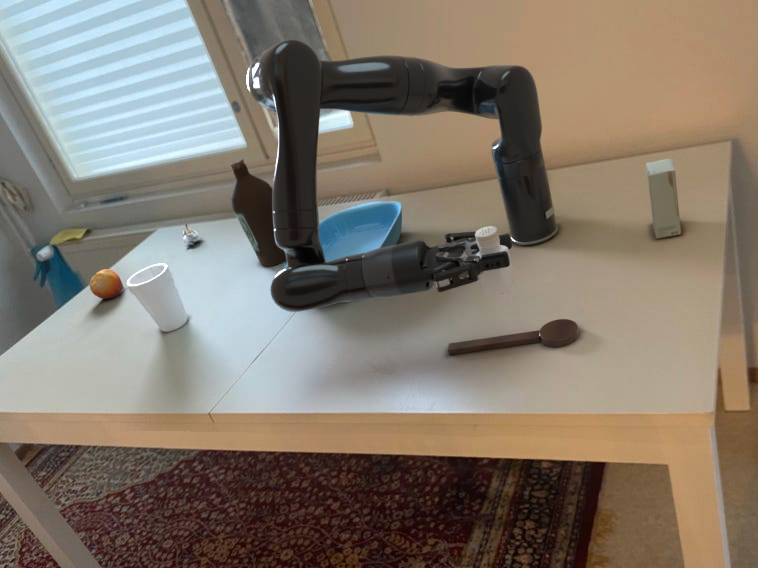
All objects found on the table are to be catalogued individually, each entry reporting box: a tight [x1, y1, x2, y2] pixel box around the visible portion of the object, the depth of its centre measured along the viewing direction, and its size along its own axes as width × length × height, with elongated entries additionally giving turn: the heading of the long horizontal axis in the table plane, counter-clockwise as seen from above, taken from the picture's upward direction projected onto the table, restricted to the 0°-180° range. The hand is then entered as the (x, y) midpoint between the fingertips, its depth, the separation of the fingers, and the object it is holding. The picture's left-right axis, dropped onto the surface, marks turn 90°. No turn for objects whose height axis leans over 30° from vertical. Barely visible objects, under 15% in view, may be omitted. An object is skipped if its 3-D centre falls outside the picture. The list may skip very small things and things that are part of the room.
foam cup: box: [126, 263, 189, 333], centre depth 155 cm, size 10×9×13 cm
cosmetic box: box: [645, 157, 682, 239], centre depth 124 cm, size 6×4×12 cm
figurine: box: [182, 223, 199, 246], centre depth 201 cm, size 5×4×6 cm
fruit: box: [89, 268, 125, 300], centre depth 186 cm, size 8×8×8 cm
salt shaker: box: [475, 225, 516, 295], centre depth 102 cm, size 4×4×10 cm
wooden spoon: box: [447, 318, 580, 356], centre depth 112 cm, size 21×6×1 cm, turn 79°
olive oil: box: [229, 158, 287, 267], centre depth 167 cm, size 11×11×25 cm
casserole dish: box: [283, 200, 403, 269], centre depth 154 cm, size 37×22×7 cm, turn 166°
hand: (509, 249), depth 100 cm, fingers closed on salt shaker, 4 cm apart
